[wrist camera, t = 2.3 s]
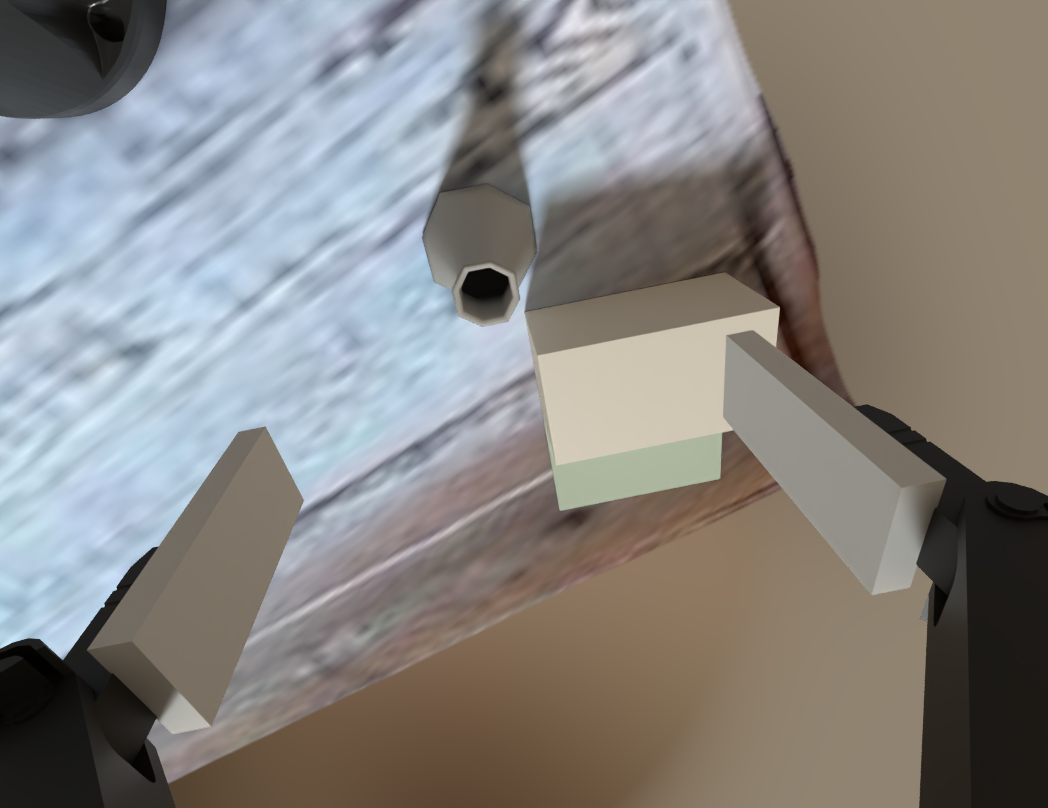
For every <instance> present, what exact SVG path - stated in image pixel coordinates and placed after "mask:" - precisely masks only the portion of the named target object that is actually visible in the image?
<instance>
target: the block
mask: <svg viewBox="0 0 1048 808" xmlns="http://www.w3.org/2000/svg"><path fill="white" fill-rule="evenodd" d="M779 310H780V307H778V306H777V305H775V304H774V303H772V302H771V301H769V300H768V299H766V298H764V297H763V296H761V295H760V294H758V293H757V292H755V291H754V290H752V289H750V288H749V287H747V286H746V285H744V284H743V283H741V282H740V281H738V280H736V279H735V278H733V277H732V276H730V275H729V274H727V273H725V272H724V273H719V274H714V275H709V276H704V277H699V278H694V279H689V280H684V281H678V282H673V283H668V284H663V285H658V286H653V287H648V288H643V289H638V290H633V291H628V292H623V293H618V294H613V295H608V296H603V297H598V298H593V299H588V300H583V301H578V302H573V303H568V304H563V305H558V306H553V307H548V308H543V309H538V310H533V311H528V312H524V313H525V318H526V324H527V329H528V335H529V341H530V346H531V352H532V358H533V363H534V369H535V375H536V380H537V386H538V391H539V397H540V403H541V408H542V413H543V417H544V420H545V424H546V428H547V432H548V436H549V440H550V444H551V448H552V451H553V455H554V459H555V463H556V466H557V465H562V464H567V463H572V462H577V461H582V460H587V459H592V458H597V457H602V456H607V455H612V454H617V453H622V452H627V451H632V450H637V449H642V448H647V447H652V446H657V445H662V444H667V443H672V442H677V441H682V440H687V439H692V438H697V437H702V436H707V435H712V434H717V433H722V432H727V431H732V430H733V429H732V427H731V426H730V425H729V424H728V423H727V421H726V420H725V419H724V418H723V402H724V377H725V353H726V335H730V334H735V333H740V332H745V331H750V330H754V331H755V332H756V333H758V334H759V335H760V336H762V337H763V338H764V339H765V340H767V341H768V342H769V343H771V344H772V345H773V346H775V347H776V340H777V330H778V320H779Z"/></svg>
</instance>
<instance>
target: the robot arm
mask: <svg viewBox="0 0 1048 808" xmlns="http://www.w3.org/2000/svg"><path fill="white" fill-rule="evenodd" d="M165 7H166V0H0V116H4V117H11V118H22V119H41V118H66V117H75V116H82V115H86V114H90V113H93V112H96V111H99V110H102V109H104V108H106V107H108V106H110V105H112V104H113V103H115V102H117V101H118V100H120V99H121V98H123V97H124V96H125V95H126V94H128V93H129V92H130V91H131V90H132V89H133V88H134V87H135V86H136V85H137V84H138V82H139V81H140V80H141V79H142V77H143V76H144V74H145V73H146V72H147V70H148V68H149V66H150V64H151V63H152V61H153V59H154V56H155V54H156V51H157V49H158V46H159V42H160V39H161V35H162V30H163V25H164V18H165ZM723 418H724V419H725V420H726V421H727V423H728V424H729V425H730V426H731V427H732V429H733V430H734V431H735V432H736V433H737V435H738V436H739V437H740V438H741V439H742V441H743V442H744V443H745V444H746V445H747V447H748V448H749V449H750V450H751V451H752V453H753V454H754V455H755V456H756V457H757V459H758V460H759V461H760V462H761V463H762V465H763V466H764V467H765V468H766V469H767V470H768V472H769V473H770V474H771V475H772V476H773V478H774V479H775V480H776V481H777V482H778V484H779V485H780V486H781V487H782V488H783V490H784V491H785V492H786V493H787V494H788V496H789V497H790V498H791V499H792V500H793V502H794V503H795V504H796V505H797V506H798V508H799V509H800V510H801V511H802V512H803V514H804V515H805V516H806V517H807V518H808V519H809V520H810V522H811V523H812V524H813V526H814V527H815V528H816V529H817V530H818V532H819V533H820V534H821V535H822V536H823V538H824V539H825V540H826V541H827V542H828V543H829V545H830V546H831V547H832V548H833V550H834V551H835V552H836V553H837V554H838V556H839V557H840V558H841V559H842V560H843V561H844V563H845V564H846V565H847V566H848V568H849V569H850V570H851V571H852V572H853V573H854V575H855V576H856V577H857V578H858V579H859V581H860V582H861V583H862V584H863V585H864V587H865V588H866V589H867V590H868V591H869V593H870V594H871V595H875V594H880V593H884V592H890V591H895V590H900V589H905V588H910V586H911V583H912V580H913V577H914V574H915V571H916V568H917V566H918V567H919V568H921V570H922V571H923V572H924V573H925V574H926V575H927V576H928V577H929V578H930V579H931V580H932V581H933V584H932V586H931V589H930V592H929V594H928V597H927V600H926V603H925V605H924V608H923V611H922V613H921V616H920V619H921V620H924V621H927V620H928V625H927V647H926V669H925V691H924V715H923V735H922V759H921V780H920V802H919V808H1048V496H1047V495H1045V494H1043V493H1040V492H1038V491H1036V490H1034V489H1032V488H1028V487H1025V486H1021V485H1018V484H1014V483H1008V482H998V481H990V482H986V481H984V480H983V479H982V478H980V477H979V476H977V475H976V474H975V473H973V472H972V471H970V470H969V469H968V468H966V467H965V466H964V465H962V464H961V463H959V462H958V461H957V460H955V459H954V458H952V457H951V456H950V455H948V454H947V453H945V452H944V451H943V450H941V449H940V448H938V447H937V446H936V445H934V444H933V443H931V442H927V441H926V438H925V437H923V436H922V435H920V434H919V433H917V432H916V431H912V430H911V427H909V426H908V425H906V424H905V423H904V422H902V421H901V420H899V419H898V418H896V417H895V416H894V415H892V414H890V413H888V412H885V411H883V410H880V409H877V408H875V407H873V406H870V405H862V406H856V407H852V406H851V405H850V404H849V403H847V402H846V401H845V400H843V399H842V398H841V397H839V396H838V395H837V394H836V393H834V392H833V391H832V390H830V389H829V388H828V387H826V386H825V385H824V384H823V383H821V382H820V381H819V380H817V379H816V378H815V377H814V376H812V375H811V374H810V373H808V372H807V371H806V370H804V369H803V368H802V367H801V366H799V365H798V364H797V363H795V362H794V361H793V360H791V359H790V358H789V357H788V356H786V355H785V354H784V353H782V352H781V351H780V350H778V349H777V348H776V347H775V346H773V345H772V344H771V343H769V342H768V341H767V340H765V339H764V338H763V337H762V336H760V335H759V334H758V333H756V332H755V331H754V330H750V331H745V332H740V333H735V334H730V335H726V353H725V377H724V402H723ZM303 501H304V500H303V498H302V496H301V494H300V492H299V490H298V488H297V486H296V484H295V482H294V480H293V478H292V476H291V475H290V473H289V471H288V469H287V467H286V465H285V463H284V461H283V459H282V457H281V455H280V453H279V451H278V450H277V448H276V446H275V444H274V442H273V440H272V438H271V436H270V434H269V432H268V430H267V428H266V427H261V428H256V429H251V430H246V431H241V432H238V434H237V435H236V436H235V438H234V439H233V441H232V442H231V444H230V445H229V447H228V448H227V449H226V451H225V452H224V454H223V455H222V457H221V458H220V459H219V461H218V462H217V464H216V465H215V467H214V468H213V469H212V471H211V472H210V474H209V475H208V477H207V478H206V480H205V481H204V482H203V484H202V485H201V487H200V488H199V490H198V491H197V492H196V494H195V495H194V497H193V498H192V500H191V501H190V503H189V504H188V505H187V507H186V508H185V510H184V511H183V513H182V514H181V515H180V517H179V518H178V520H177V521H176V523H175V524H174V526H173V527H172V528H171V530H170V531H169V533H168V534H167V536H166V537H165V538H164V540H163V541H162V543H161V544H160V546H159V547H154V548H152V549H150V550H149V551H148V552H147V553H146V554H145V555H144V556H143V557H141V558H140V559H139V560H138V561H137V562H136V563H135V564H134V565H133V566H131V568H130V569H129V570H128V572H127V573H126V574H125V576H124V577H123V579H122V580H121V581H120V583H119V584H118V585H117V590H116V591H113V592H112V594H111V595H110V596H109V598H108V599H107V601H106V602H105V603H104V604H105V607H103V608H101V609H100V610H99V612H98V613H97V614H96V616H95V617H94V619H93V620H92V621H91V623H90V624H89V625H88V627H87V628H86V630H85V631H84V632H83V634H82V635H81V636H80V638H79V639H78V641H77V642H76V643H75V645H74V646H73V647H72V649H71V650H70V652H69V653H68V654H67V656H66V657H65V658H64V660H62V659H61V658H60V657H58V656H57V655H56V654H55V653H54V652H53V651H52V650H51V649H50V648H49V647H48V646H47V645H46V644H44V643H43V642H42V641H41V640H40V639H31V638H28V639H24V640H21V641H17V642H14V643H11V644H9V645H7V646H5V647H3V648H1V649H0V808H176V807H175V804H174V801H173V798H172V795H171V792H170V789H169V786H168V783H167V780H166V777H165V774H164V771H163V768H162V765H161V762H160V759H159V756H158V753H157V750H156V748H155V746H154V745H153V744H152V743H151V742H150V741H149V740H148V739H147V736H148V734H149V732H150V730H151V728H152V726H153V724H154V722H155V720H156V718H157V719H158V720H159V721H160V722H161V723H162V724H163V725H164V726H165V727H166V728H167V729H168V730H169V731H170V732H171V733H172V734H177V733H182V732H187V731H192V730H197V729H202V728H207V727H211V726H212V724H213V721H214V719H215V716H216V714H217V711H218V709H219V707H220V704H221V702H222V699H223V697H224V694H225V692H226V689H227V687H228V685H229V682H230V680H231V677H232V675H233V672H234V670H235V667H236V665H237V663H238V660H239V658H240V655H241V653H242V650H243V648H244V645H245V643H246V641H247V638H248V636H249V633H250V631H251V628H252V626H253V623H254V621H255V619H256V616H257V614H258V611H259V609H260V606H261V604H262V601H263V599H264V597H265V594H266V592H267V589H268V587H269V584H270V582H271V579H272V577H273V575H274V572H275V570H276V567H277V565H278V562H279V560H280V557H281V555H282V553H283V550H284V548H285V545H286V543H287V540H288V538H289V535H290V533H291V531H292V528H293V526H294V523H295V521H296V518H297V516H298V513H299V511H300V509H301V506H302V504H303Z"/></svg>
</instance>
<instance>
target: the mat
mask: <svg viewBox="0 0 1048 808" xmlns="http://www.w3.org/2000/svg"><path fill="white" fill-rule="evenodd" d="M542 414H543V413H542ZM543 420H544V417H543ZM544 425H545V431H546V437H547V442H548V448H549V453H550V459H551V465H552V470H553V476H554V482H555V487H556V493H557V499H558V504H559V509H560V511H561V510H566V509H571V508H576V507H581V506H586V505H591V504H596V503H601V502H606V501H611V500H616V499H621V498H626V497H631V496H636V495H641V494H646V493H651V492H656V491H661V490H666V489H671V488H676V487H681V486H686V485H691V484H696V483H701V482H706V481H711V480H716V479H720V469H721V446H722V433H717V434H712V435H707V436H702V437H697V438H692V439H687V440H682V441H677V442H672V443H667V444H662V445H657V446H652V447H647V448H642V449H637V450H632V451H627V452H622V453H617V454H612V455H607V456H602V457H597V458H592V459H587V460H582V461H577V462H572V463H567V464H562V465H557V466H556V463H555V459H554V455H553V451H552V448H551V444H550V440H549V436H548V432H547V428H546V424H545V420H544Z"/></svg>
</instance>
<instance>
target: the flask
mask: <svg viewBox="0 0 1048 808" xmlns="http://www.w3.org/2000/svg"><path fill="white" fill-rule="evenodd" d="M422 239H423V243H424V247H425V251H426V254H427V258H428V262H429V266H430V270H431V273H432V277H433V281H434V282H435V283H437V284H439V285H441V286H444V287H446V288H448V289H450V290H452V293H453V297H454V301H455V305H456V309H457V313H458V316H459V317H461V318H463V319H466V320H468V321H470V322H473V323H475V324H477V325H479V326H482V327H484V326H489V325H494V324H499V323H504V322H508V321H509V319H510V317H511V315H512V313H513V311H514V310H515V308H516V306H517V304H518V302H519V300H520V295H519V290H518V288H519V286H520V284H521V282H522V281H523V279H524V277H525V275H526V273H527V271H528V269H529V267H530V265H531V263H532V261H533V259H534V257H535V255H536V253H537V252H536V245H535V238H534V232H533V225H532V218H531V212H530V206H528V205H526V204H524V203H522V202H520V201H519V200H517V199H515V198H513V197H511V196H509V195H507V194H506V193H504V192H502V191H500V190H498V189H496V188H494V187H493V186H491V185H489V184H483V185H478V186H473V187H468V188H463V189H457V190H452V191H447V192H442V193H440V194H439V197H438V199H437V202H436V204H435V207H434V209H433V211H432V214H431V216H430V219H429V221H428V224H427V226H426V229H425V231H424V234H423V236H422Z"/></svg>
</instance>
